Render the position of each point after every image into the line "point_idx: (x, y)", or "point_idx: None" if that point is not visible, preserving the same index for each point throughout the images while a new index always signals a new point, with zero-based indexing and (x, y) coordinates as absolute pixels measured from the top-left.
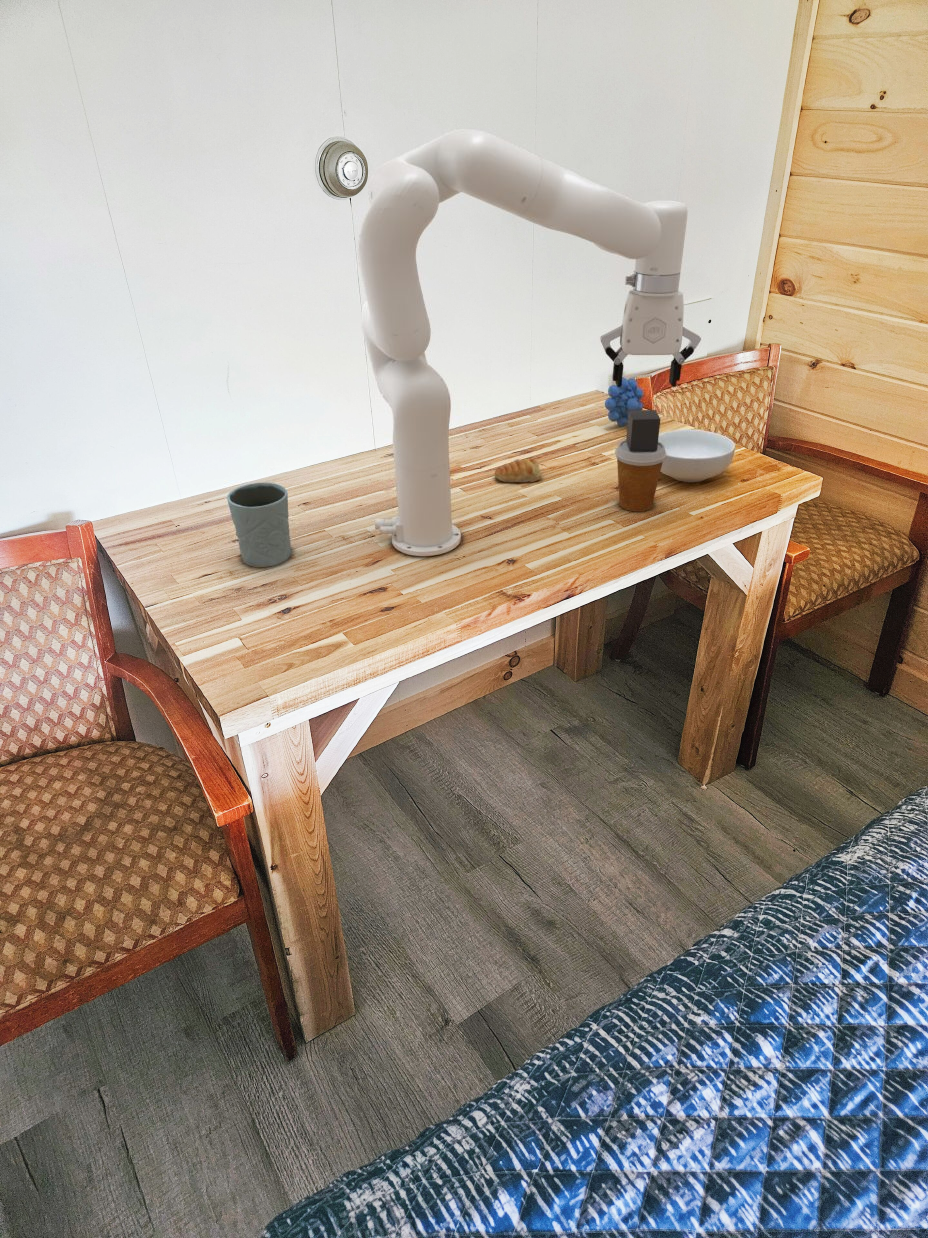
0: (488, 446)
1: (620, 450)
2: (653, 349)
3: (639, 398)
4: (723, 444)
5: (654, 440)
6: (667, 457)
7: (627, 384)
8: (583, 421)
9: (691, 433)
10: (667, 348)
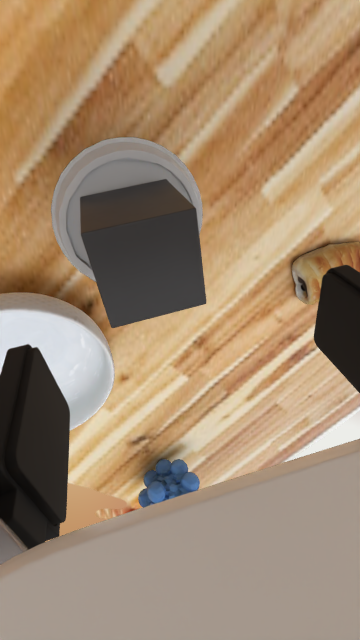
0: None
1: (193, 188)
2: (310, 533)
3: None
4: None
5: (93, 202)
6: (66, 314)
7: None
8: (213, 457)
9: None
10: (93, 628)
